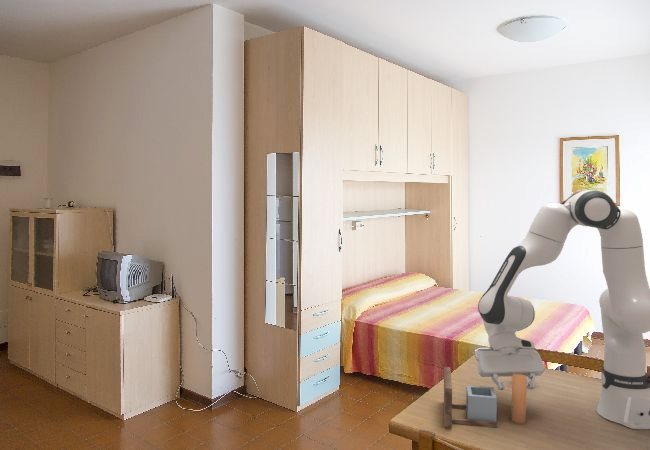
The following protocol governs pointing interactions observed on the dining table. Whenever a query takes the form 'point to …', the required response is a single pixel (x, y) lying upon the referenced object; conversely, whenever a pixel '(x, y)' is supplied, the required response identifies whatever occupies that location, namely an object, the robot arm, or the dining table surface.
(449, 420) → the backstop wall
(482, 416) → the socket block
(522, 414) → the dowel
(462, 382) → the dining table surface
